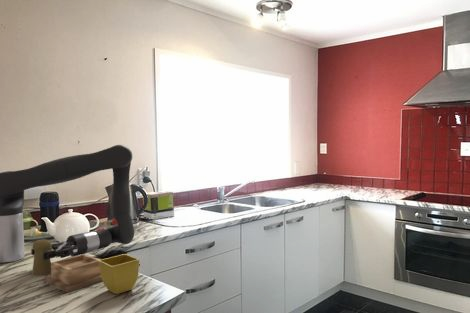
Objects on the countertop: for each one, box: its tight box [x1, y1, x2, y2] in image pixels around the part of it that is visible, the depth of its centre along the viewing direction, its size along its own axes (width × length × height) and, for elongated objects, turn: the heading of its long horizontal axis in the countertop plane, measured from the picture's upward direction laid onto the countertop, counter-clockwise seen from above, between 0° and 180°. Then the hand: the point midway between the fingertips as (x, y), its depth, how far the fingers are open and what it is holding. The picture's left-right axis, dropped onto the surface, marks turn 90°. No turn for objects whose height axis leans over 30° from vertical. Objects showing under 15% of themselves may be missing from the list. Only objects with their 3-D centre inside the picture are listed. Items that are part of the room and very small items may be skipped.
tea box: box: [142, 190, 175, 220], centre depth 217 cm, size 15×10×15 cm
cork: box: [32, 238, 52, 277], centre depth 124 cm, size 6×6×11 cm
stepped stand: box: [43, 253, 103, 294], centre depth 116 cm, size 14×14×6 cm
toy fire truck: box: [96, 218, 118, 231], centre depth 167 cm, size 3×14×10 cm, turn 65°
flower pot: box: [98, 253, 140, 295], centre depth 107 cm, size 9×9×9 cm
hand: (37, 254), depth 122 cm, fingers open, 8 cm apart
